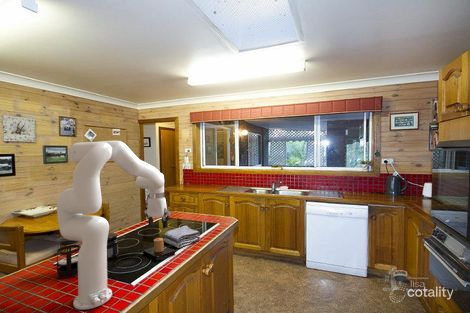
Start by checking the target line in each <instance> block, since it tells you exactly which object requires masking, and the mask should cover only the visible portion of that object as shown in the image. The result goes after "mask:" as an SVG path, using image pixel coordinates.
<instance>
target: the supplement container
mask: <svg viewBox="0 0 470 313" xmlns="http://www.w3.org/2000/svg"><path fill="white" fill-rule="evenodd" d="M118 256H119V239H118V234H117V233H115V232H109V233H108V238H107V262H109V261H112V260H115V259H116V258H117V257H118Z"/></svg>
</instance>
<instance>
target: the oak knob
mask: <svg viewBox="0 0 470 313" xmlns="http://www.w3.org/2000/svg"><path fill="white" fill-rule="evenodd" d="M164 243H165V241H164V238H163V237H156V238H154V239H153V247H154V252H161V251H163V250H164V246H165V244H164Z"/></svg>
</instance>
